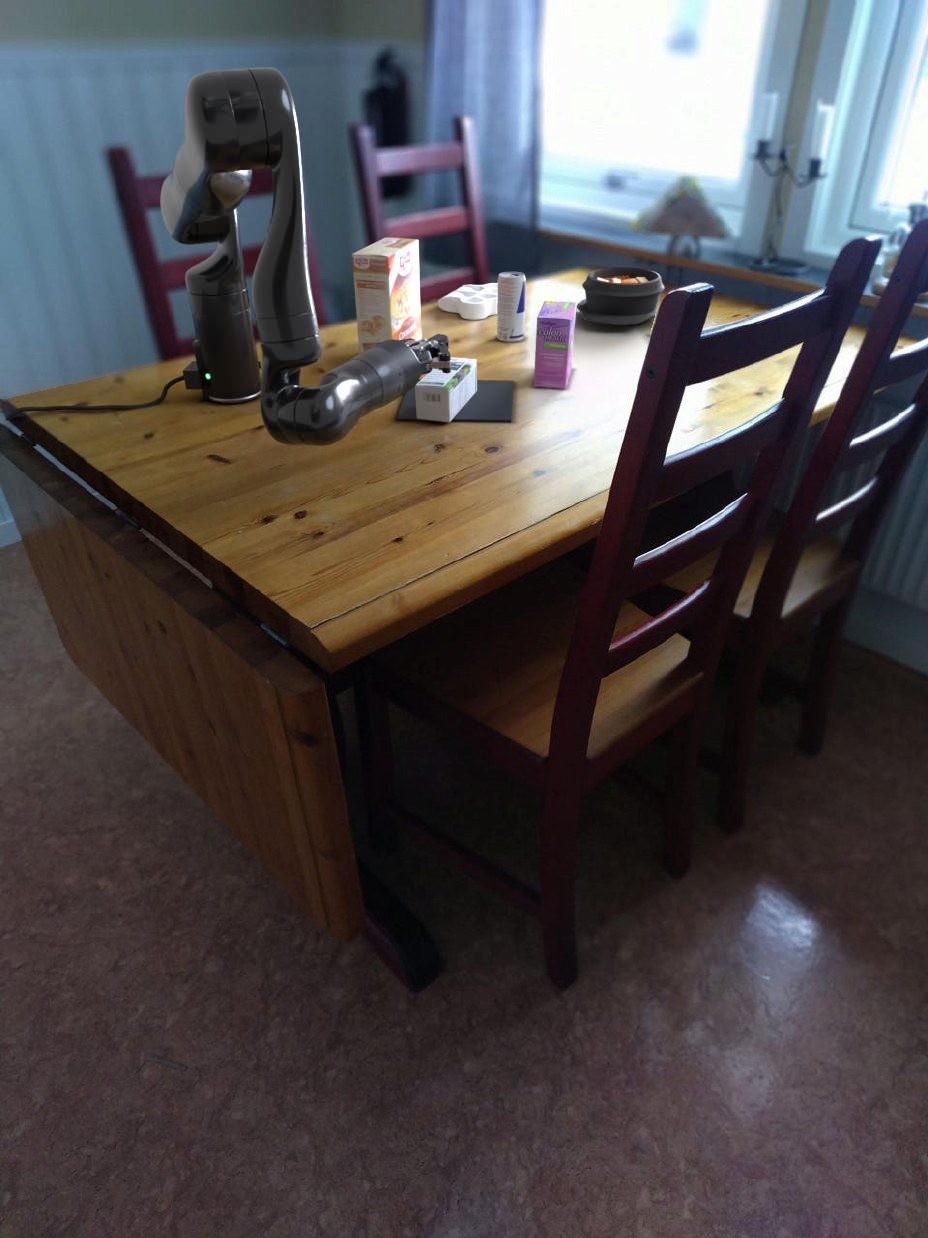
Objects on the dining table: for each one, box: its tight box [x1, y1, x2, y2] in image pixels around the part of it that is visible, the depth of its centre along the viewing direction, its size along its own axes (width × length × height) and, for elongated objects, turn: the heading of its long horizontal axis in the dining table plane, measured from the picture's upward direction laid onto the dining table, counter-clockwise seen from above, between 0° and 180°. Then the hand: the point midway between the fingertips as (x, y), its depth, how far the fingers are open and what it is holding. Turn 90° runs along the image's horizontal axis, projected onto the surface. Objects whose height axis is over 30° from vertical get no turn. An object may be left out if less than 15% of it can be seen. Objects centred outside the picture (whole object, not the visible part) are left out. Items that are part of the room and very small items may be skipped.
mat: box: [396, 379, 514, 423], centre depth 140 cm, size 18×18×1 cm
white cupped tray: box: [437, 282, 498, 321], centre depth 186 cm, size 3×18×15 cm
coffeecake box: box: [351, 236, 423, 354], centre depth 154 cm, size 15×7×20 cm, turn 162°
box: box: [533, 300, 578, 390], centre depth 145 cm, size 10×6×12 cm, turn 168°
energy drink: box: [496, 271, 527, 343], centre depth 165 cm, size 5×5×12 cm
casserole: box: [576, 266, 666, 326], centre depth 177 cm, size 25×19×8 cm
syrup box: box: [415, 356, 478, 423], centre depth 136 cm, size 6×6×14 cm
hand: (443, 340), depth 128 cm, fingers closed
